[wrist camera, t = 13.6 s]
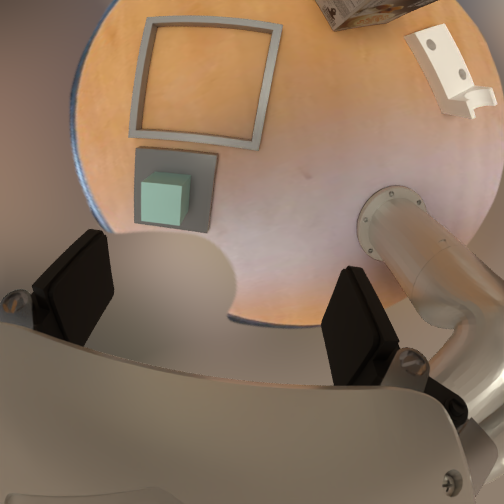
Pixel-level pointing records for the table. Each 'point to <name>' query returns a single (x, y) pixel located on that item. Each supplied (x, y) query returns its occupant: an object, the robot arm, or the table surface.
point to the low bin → (202, 21)
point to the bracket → (448, 72)
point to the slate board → (179, 163)
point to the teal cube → (165, 198)
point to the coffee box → (366, 11)
